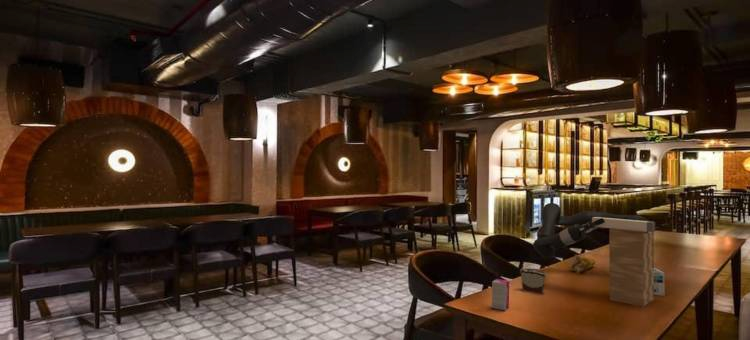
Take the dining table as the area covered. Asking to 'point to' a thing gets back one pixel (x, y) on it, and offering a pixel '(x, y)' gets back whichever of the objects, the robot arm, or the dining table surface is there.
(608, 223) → the bar
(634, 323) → the dining table surface
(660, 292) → the light bulb box
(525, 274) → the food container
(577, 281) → the dining table surface
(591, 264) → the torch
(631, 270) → the stand
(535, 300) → the dining table surface
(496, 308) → the supplement box
